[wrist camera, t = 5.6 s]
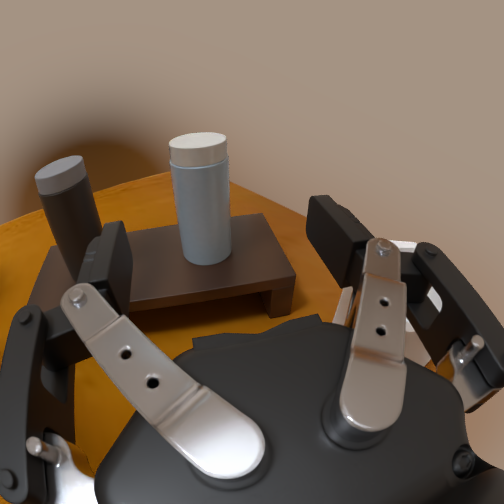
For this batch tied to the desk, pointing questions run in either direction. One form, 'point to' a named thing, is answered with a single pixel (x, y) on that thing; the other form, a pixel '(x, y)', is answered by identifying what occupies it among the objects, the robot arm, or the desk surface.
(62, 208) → the dark shaker
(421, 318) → the robot arm
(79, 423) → the desk surface
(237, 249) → the desk shelf
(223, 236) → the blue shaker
